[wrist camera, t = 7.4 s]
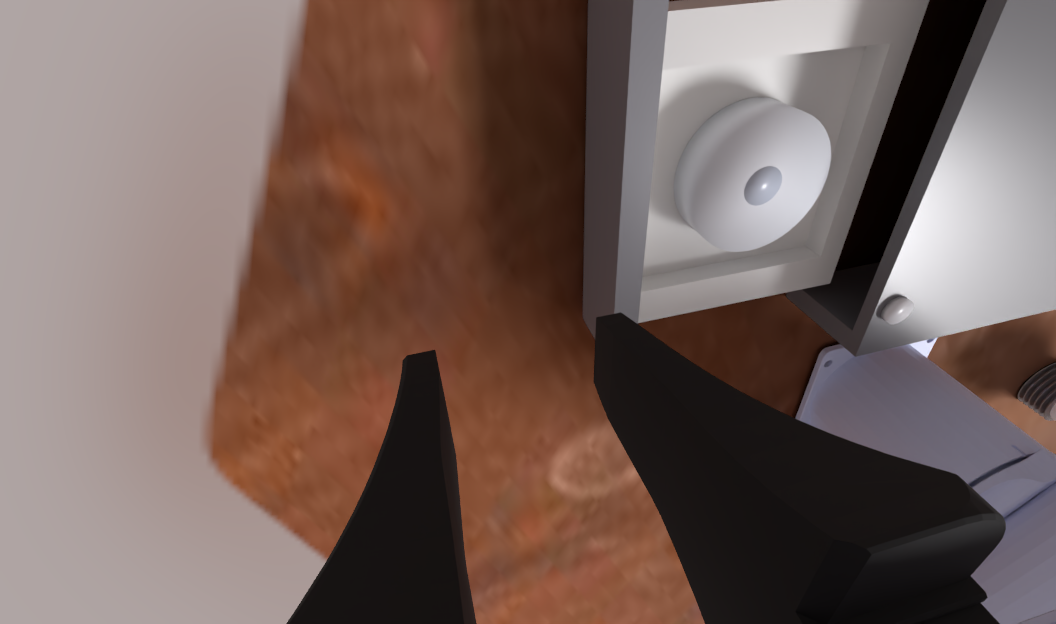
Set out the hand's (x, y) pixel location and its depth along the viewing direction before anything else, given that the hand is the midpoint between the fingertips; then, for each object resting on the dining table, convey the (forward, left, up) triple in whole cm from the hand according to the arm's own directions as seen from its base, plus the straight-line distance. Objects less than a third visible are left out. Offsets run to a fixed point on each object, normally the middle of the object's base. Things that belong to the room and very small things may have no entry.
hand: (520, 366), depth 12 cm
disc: (0, -11, -8) cm, 14 cm away
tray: (0, -10, -9) cm, 14 cm away
